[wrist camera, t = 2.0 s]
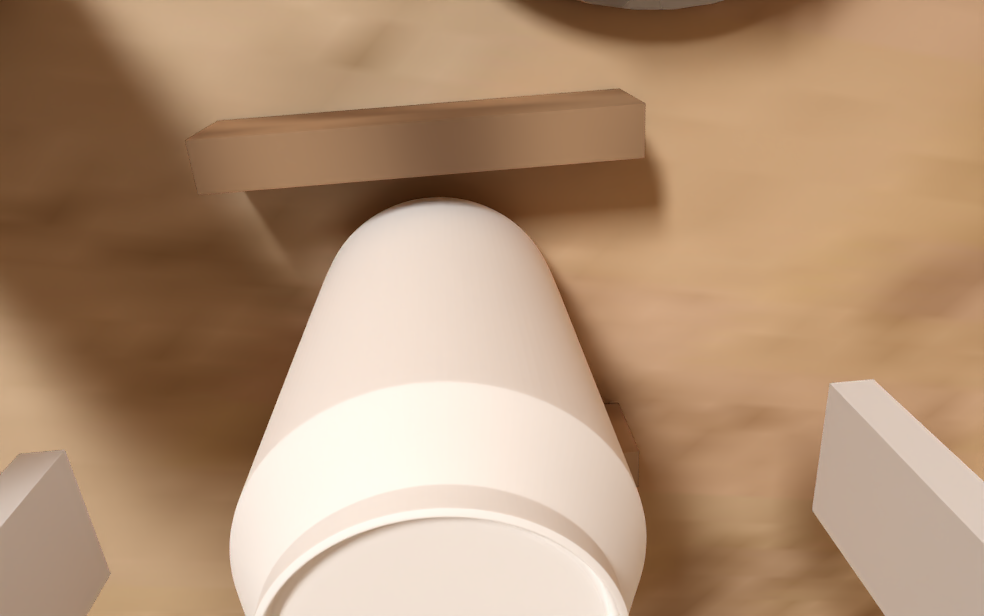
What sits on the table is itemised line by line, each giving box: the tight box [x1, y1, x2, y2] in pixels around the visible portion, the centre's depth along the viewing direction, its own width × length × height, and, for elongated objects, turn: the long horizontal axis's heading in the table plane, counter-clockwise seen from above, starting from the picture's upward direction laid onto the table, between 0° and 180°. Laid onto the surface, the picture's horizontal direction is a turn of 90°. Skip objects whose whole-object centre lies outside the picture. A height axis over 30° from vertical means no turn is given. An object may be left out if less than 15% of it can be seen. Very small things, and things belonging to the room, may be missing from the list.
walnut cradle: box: [185, 89, 645, 487], centre depth 19 cm, size 10×10×2 cm
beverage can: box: [230, 197, 647, 616], centre depth 15 cm, size 6×6×12 cm
